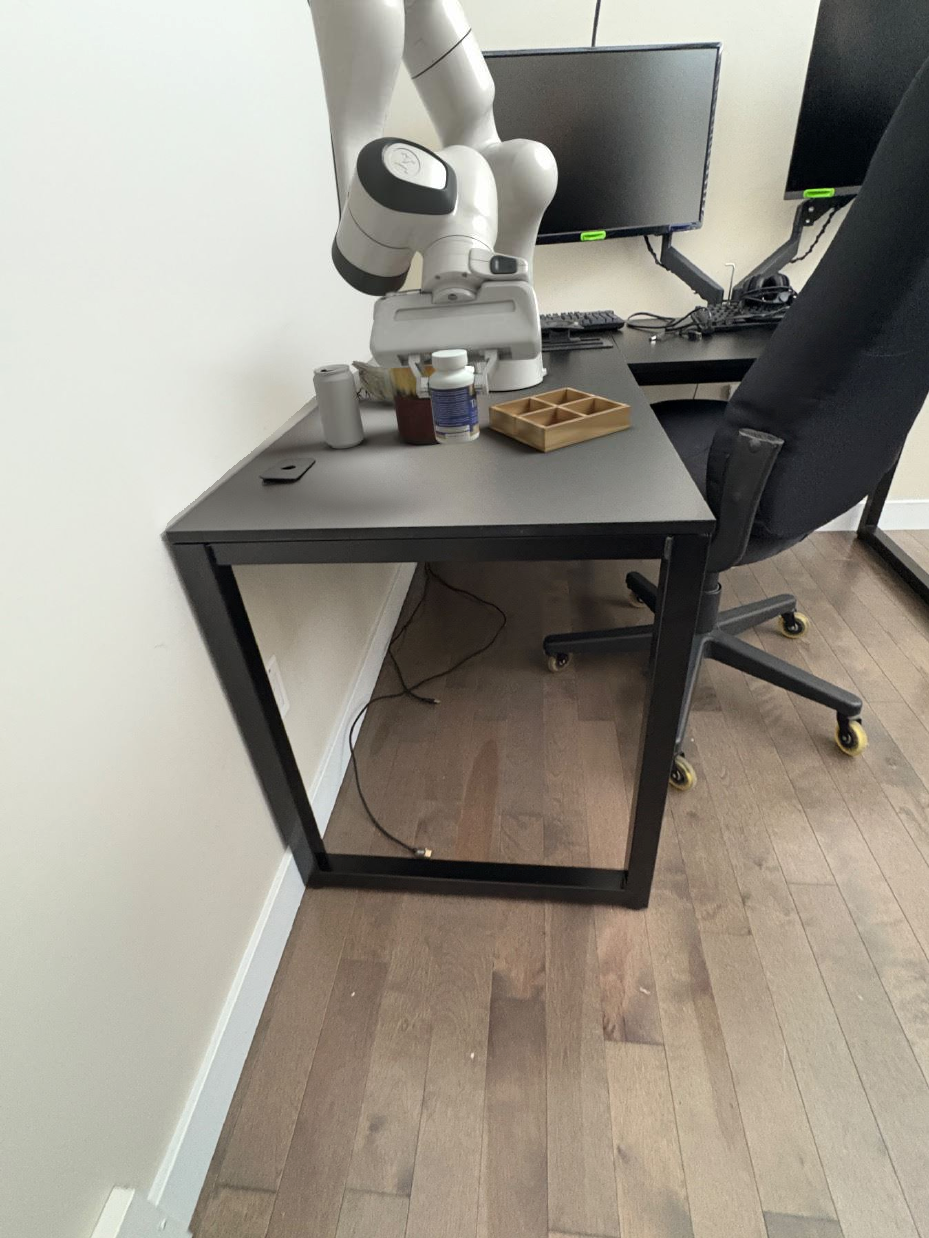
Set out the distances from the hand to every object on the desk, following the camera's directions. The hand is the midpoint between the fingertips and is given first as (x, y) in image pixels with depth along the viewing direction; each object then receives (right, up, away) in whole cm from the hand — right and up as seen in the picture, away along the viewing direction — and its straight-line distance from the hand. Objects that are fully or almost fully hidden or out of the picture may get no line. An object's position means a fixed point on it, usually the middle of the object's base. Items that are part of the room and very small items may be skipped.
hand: (452, 393), depth 69 cm
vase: (-4, +5, +31) cm, 32 cm away
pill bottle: (+1, -4, +4) cm, 6 cm away
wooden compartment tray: (+16, +5, +28) cm, 33 cm away
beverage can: (-18, +3, +31) cm, 36 cm away
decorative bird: (-14, +17, +50) cm, 54 cm away
